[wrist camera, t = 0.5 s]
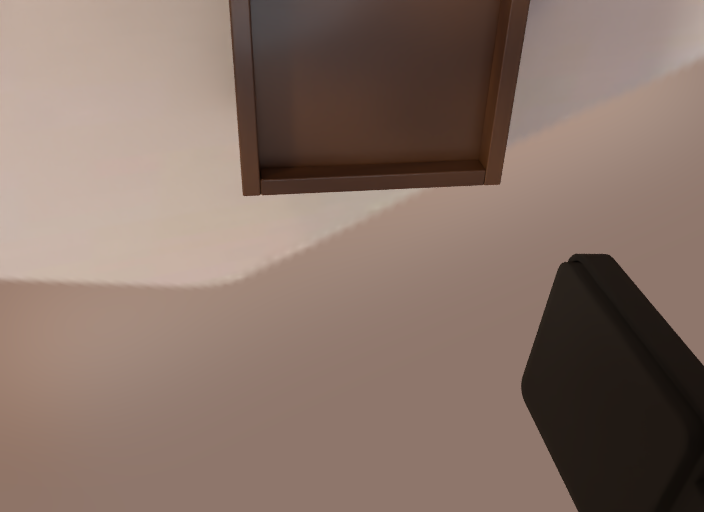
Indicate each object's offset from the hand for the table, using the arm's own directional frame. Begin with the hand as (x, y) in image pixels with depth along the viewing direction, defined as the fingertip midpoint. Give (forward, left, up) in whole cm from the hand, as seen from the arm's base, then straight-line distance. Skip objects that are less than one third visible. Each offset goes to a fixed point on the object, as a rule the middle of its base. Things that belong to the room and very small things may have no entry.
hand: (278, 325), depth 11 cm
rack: (-3, +4, -29) cm, 29 cm away
